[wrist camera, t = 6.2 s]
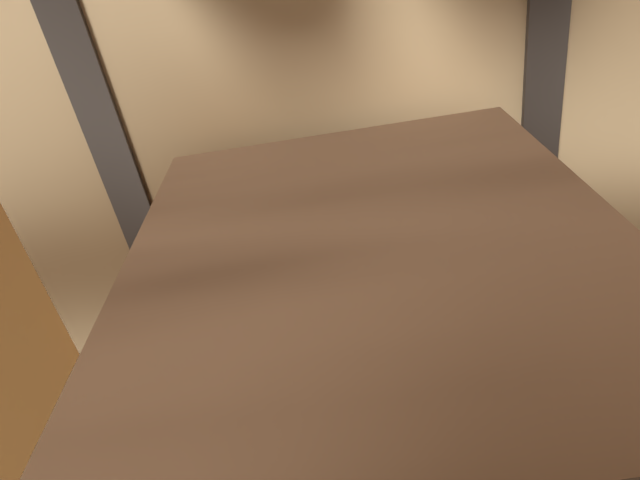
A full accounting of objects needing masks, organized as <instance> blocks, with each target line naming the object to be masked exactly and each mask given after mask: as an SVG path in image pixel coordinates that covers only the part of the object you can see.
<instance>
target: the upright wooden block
mask: <svg viewBox="0 0 640 480" xmlns="http://www.w3.org/2000/svg"><path fill="white" fill-rule="evenodd" d="M20 480H640V230H638V229H637V228H636V227H635V226H634V225H633V224H632V223H631V222H629V221H628V220H627V219H626V218H625V217H624V216H623V215H621V214H620V213H619V212H618V211H617V210H616V209H615V208H614V207H612V206H611V205H610V204H609V203H608V202H607V201H606V200H605V199H603V198H602V197H601V196H600V195H599V194H598V193H597V192H596V191H594V190H593V189H592V188H591V187H590V186H589V185H588V184H587V183H585V182H584V181H583V180H582V179H581V178H580V177H579V176H577V175H576V174H575V173H574V172H573V171H572V170H571V169H570V168H568V167H567V166H566V165H565V164H564V163H563V162H562V161H561V160H559V159H558V158H557V157H556V156H555V155H554V154H553V153H552V152H550V151H549V150H548V149H547V148H546V147H545V146H544V145H543V144H541V143H540V142H539V141H538V140H537V139H536V138H535V137H534V136H532V135H531V134H530V133H529V132H528V131H527V130H526V129H524V128H523V127H522V126H521V125H520V124H519V123H518V122H517V121H515V120H514V119H513V118H512V117H511V116H510V115H509V114H508V113H506V112H505V111H504V110H503V109H502V108H501V107H495V108H489V109H482V110H476V111H469V112H463V113H457V114H450V115H444V116H437V117H431V118H425V119H418V120H412V121H405V122H399V123H393V124H386V125H380V126H373V127H367V128H361V129H354V130H348V131H341V132H335V133H329V134H322V135H316V136H309V137H303V138H297V139H290V140H284V141H277V142H271V143H265V144H258V145H252V146H245V147H239V148H233V149H226V150H220V151H213V152H207V153H201V154H194V155H188V156H182V157H175V158H174V159H173V161H172V163H171V165H170V167H169V169H168V171H167V173H166V175H165V177H164V180H163V182H162V184H161V186H160V188H159V190H158V192H157V194H156V196H155V198H154V200H153V202H152V205H151V207H150V209H149V211H148V213H147V215H146V217H145V219H144V221H143V223H142V225H141V228H140V230H139V232H138V234H137V236H136V238H135V240H134V242H133V244H132V246H131V248H130V251H129V253H128V255H127V257H126V259H125V261H124V263H123V265H122V267H121V269H120V271H119V273H118V276H117V278H116V280H115V282H114V284H113V286H112V288H111V290H110V292H109V294H108V296H107V299H106V301H105V303H104V305H103V307H102V309H101V311H100V313H99V315H98V317H97V319H96V322H95V324H94V326H93V328H92V330H91V332H90V334H89V336H88V338H87V340H86V342H85V344H84V347H83V349H82V351H81V353H80V355H79V357H78V359H77V361H76V363H75V365H74V367H73V370H72V372H71V374H70V376H69V378H68V380H67V382H66V384H65V386H64V388H63V390H62V393H61V395H60V397H59V399H58V401H57V403H56V405H55V407H54V409H53V411H52V413H51V415H50V418H49V420H48V422H47V424H46V426H45V428H44V430H43V432H42V434H41V436H40V438H39V441H38V443H37V445H36V447H35V449H34V451H33V453H32V455H31V457H30V459H29V461H28V464H27V466H26V468H25V470H24V472H23V474H22V476H21V478H20Z"/></svg>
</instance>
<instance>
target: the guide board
mask: <svg viewBox="0 0 640 480" xmlns="http://www.w3.org/2000/svg"><path fill="white" fill-rule="evenodd" d="M495 107H501V108H502V109H503V110H504V111H505V112H506V113H508V114H509V115H510V116H511V117H512V118H513V119H514V120H515V121H517V122H518V123H519V124H520V125H521V126H522V127H523V128H524V129H526V130H527V131H528V132H529V133H530V134H531V135H532V136H534V137H535V138H536V139H537V140H538V141H539V142H540V143H541V144H543V145H544V146H545V147H546V148H547V149H548V150H549V151H550V152H552V153H553V154H554V155H555V156H556V157H557V158H558V159H559V160H561V161H562V162H563V163H564V164H565V165H566V166H567V167H568V168H570V169H571V170H572V171H573V172H574V173H575V174H576V175H577V176H579V177H580V178H581V179H582V180H583V181H584V182H585V183H587V184H588V185H589V186H590V187H591V188H592V189H593V190H594V191H596V192H597V193H598V194H599V195H600V196H601V197H602V198H603V199H605V200H606V201H607V202H608V203H609V204H610V205H611V206H612V207H614V208H615V209H616V210H617V211H618V212H619V213H620V214H621V215H623V216H624V217H625V218H626V219H627V220H628V221H629V222H631V223H632V224H633V225H634V226H635V227H636V228H637V229H638V230H640V0H0V203H1V205H2V207H3V209H4V210H5V212H6V214H7V216H8V218H9V220H10V222H11V224H12V226H13V228H14V230H15V231H16V233H17V235H18V237H19V239H20V241H21V243H22V245H23V247H24V249H25V251H26V253H27V254H28V256H29V258H30V260H31V262H32V264H33V266H34V268H35V270H36V272H37V274H38V276H39V277H40V279H41V281H42V283H43V285H44V287H45V289H46V291H47V293H48V295H49V297H50V299H51V300H52V302H53V304H54V306H55V308H56V310H57V312H58V314H59V316H60V318H61V320H62V322H63V323H64V325H65V327H66V329H67V331H68V333H69V335H70V337H71V339H72V341H73V343H74V344H75V346H76V348H77V350H78V352H79V354H80V353H81V351H82V349H83V347H84V344H85V342H86V340H87V338H88V336H89V334H90V332H91V330H92V328H93V326H94V324H95V322H96V319H97V317H98V315H99V313H100V311H101V309H102V307H103V305H104V303H105V301H106V299H107V296H108V294H109V292H110V290H111V288H112V286H113V284H114V282H115V280H116V278H117V276H118V273H119V271H120V269H121V267H122V265H123V263H124V261H125V259H126V257H127V255H128V253H129V251H130V248H131V246H132V244H133V242H134V240H135V238H136V236H137V234H138V232H139V230H140V228H141V225H142V223H143V221H144V219H145V217H146V215H147V213H148V211H149V209H150V207H151V205H152V202H153V200H154V198H155V196H156V194H157V192H158V190H159V188H160V186H161V184H162V182H163V180H164V177H165V175H166V173H167V171H168V169H169V167H170V165H171V163H172V161H173V159H174V158H175V157H182V156H188V155H194V154H201V153H207V152H213V151H220V150H226V149H233V148H239V147H245V146H252V145H258V144H265V143H271V142H277V141H284V140H290V139H297V138H303V137H309V136H316V135H322V134H329V133H335V132H341V131H348V130H354V129H361V128H367V127H373V126H380V125H386V124H393V123H399V122H405V121H412V120H418V119H425V118H431V117H437V116H444V115H450V114H457V113H463V112H469V111H476V110H482V109H489V108H495Z"/></svg>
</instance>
